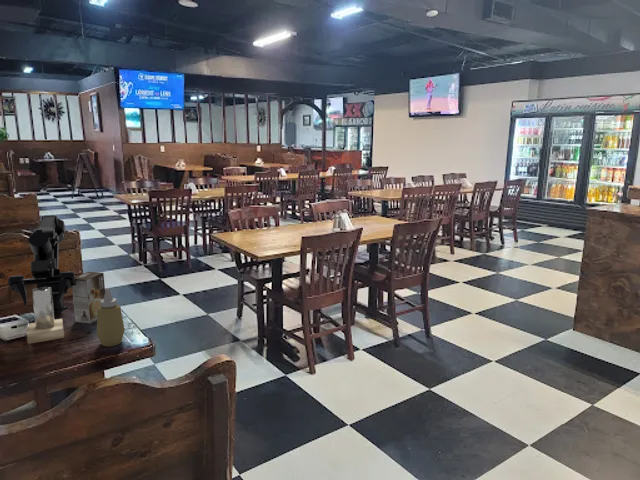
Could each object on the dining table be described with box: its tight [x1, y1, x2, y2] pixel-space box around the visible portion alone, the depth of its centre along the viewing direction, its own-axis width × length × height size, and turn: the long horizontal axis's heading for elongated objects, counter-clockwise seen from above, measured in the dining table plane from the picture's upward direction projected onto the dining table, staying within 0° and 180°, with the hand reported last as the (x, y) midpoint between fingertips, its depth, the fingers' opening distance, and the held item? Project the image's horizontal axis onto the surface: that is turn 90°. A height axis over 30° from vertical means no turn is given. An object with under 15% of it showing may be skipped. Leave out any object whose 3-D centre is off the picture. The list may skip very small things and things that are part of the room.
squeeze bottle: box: [96, 287, 125, 347], centre depth 144 cm, size 8×8×18 cm
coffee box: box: [71, 271, 106, 324], centre depth 163 cm, size 9×6×16 cm
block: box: [26, 318, 65, 344], centre depth 150 cm, size 10×10×3 cm
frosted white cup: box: [31, 287, 55, 329], centre depth 149 cm, size 5×5×12 cm
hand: (42, 304), depth 148 cm, fingers open, 9 cm apart
